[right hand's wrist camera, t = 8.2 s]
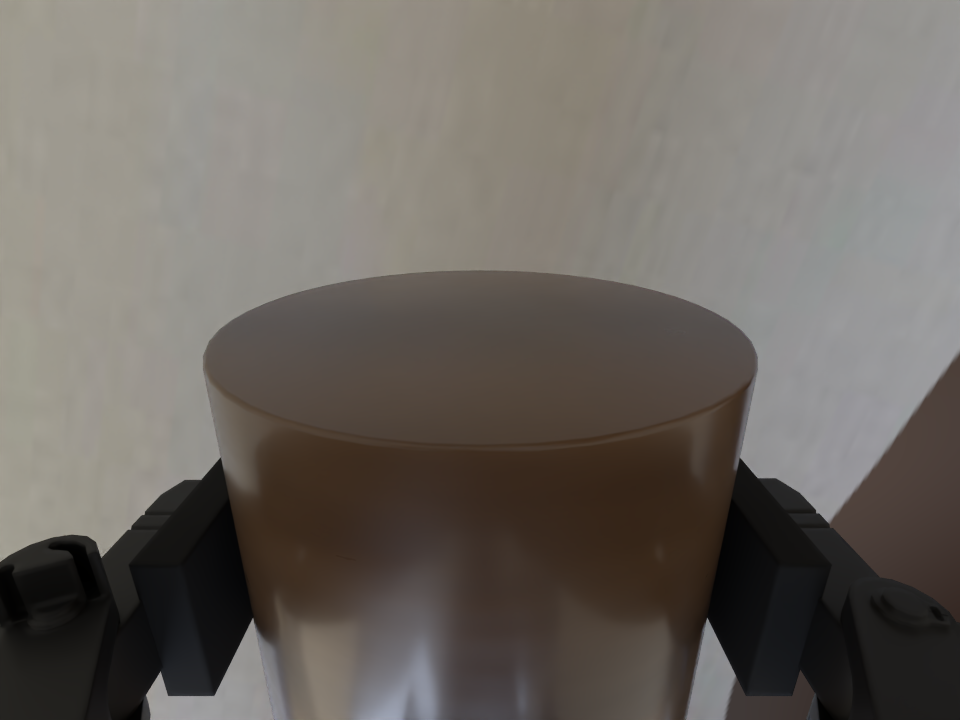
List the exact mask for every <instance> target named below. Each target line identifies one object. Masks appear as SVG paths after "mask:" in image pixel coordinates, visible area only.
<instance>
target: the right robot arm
mask: <svg viewBox="0 0 960 720" xmlns="http://www.w3.org/2000/svg"><path fill="white" fill-rule="evenodd" d="M252 618H253V613H252V609H251V604H250V599H249V594H248V589H247V584H246V579H245V574H244V569H243V564H242V559H241V554H240V549H239V544H238V539H237V534H236V529H235V524H234V519H233V514H232V509H231V504H230V500H229V495H228V490H227V485H226V480H225V475H224V470H223V465H222V460H221V458H220V459H219V460H218V461H217V462H216V464H215V465H214V466H213V467H212V468H211V469H210V471H209V472H208V473H207V474H206V475H205V476H204V478H203V479H202V480H184V481H183V482H181V483H179V484H178V485H176V486H174V487H173V488H171V489H170V490H168V491H166V492H165V493H163V494H162V495H160V497H159V498H158V499H157V500H156V501H155V502H154V503H153V504H152V505H151V506H150V507H149V508H148V509H147V510H146V511H145V515H142V516H141V517H140V518H139V519H138V520H137V521H136V522H135V523H134V524H133V525H132V528H131V530H127V532H126V533H125V534H124V535H123V536H122V537H121V538H120V539H119V540H118V541H117V542H116V543H115V544H114V545H113V546H112V547H111V548H110V550H109V551H108V552H107V553H106V554H105V555H104V556H103V557H102V558H101V556H100V553H99V550H98V547H97V544H96V542H95V541H93V540H92V539H90V538H89V537H87V536H79V535H67V536H60V537H53V538H50V539H47V540H44V541H41V542H38V543H35V544H31V545H29V546H27V547H25V548H23V549H21V550H19V551H17V552H15V553H13V554H11V555H9V556H8V557H7V558H5V559H4V560H2V561H1V562H0V720H150V709H149V704H148V700H147V697H146V694H147V692H148V691H149V689H150V687H151V686H152V684H153V683H154V681H155V679H156V678H157V676H158V675H159V673H160V671H161V674H162V677H163V680H164V683H165V687H166V690H167V693H168V696H214V695H215V693H216V691H217V689H218V687H219V685H220V683H221V681H222V679H223V677H224V675H225V673H226V671H227V669H228V667H229V665H230V663H231V661H232V659H233V657H234V655H235V653H236V651H237V649H238V647H239V645H240V643H241V641H242V639H243V637H244V635H245V633H246V631H247V629H248V626H249V624H250V622H251V620H252ZM707 618H708V620H709V622H710V624H711V626H712V628H713V630H714V632H715V634H716V636H717V638H718V640H719V642H720V644H721V646H722V648H723V650H724V652H725V654H726V656H727V658H728V660H729V662H730V664H731V666H732V668H733V670H734V672H735V674H736V676H737V679H738V681H739V683H740V685H741V687H742V689H743V691H744V693H745V695H746V696H792V695H793V691H794V688H795V685H796V681H797V678H798V675H799V672H800V670H801V671H802V673H803V674H804V676H805V678H806V679H807V681H808V682H809V684H810V686H811V687H812V689H813V690H814V692H815V694H814V697H813V700H812V703H811V707H810V710H809V713H808V716H807V719H806V720H960V623H958V622H956V621H955V619H954V618H953V617H952V615H951V614H950V612H949V611H947V610H946V609H945V608H944V607H943V606H941V605H940V604H939V603H938V602H937V601H935V600H934V599H933V598H931V597H930V596H928V595H926V594H924V593H922V592H921V591H919V590H917V589H915V588H913V587H911V586H909V585H906V584H903V583H900V582H898V581H895V580H892V579H886V578H880V577H879V576H878V575H877V574H876V573H875V572H874V571H873V570H872V569H871V568H870V567H869V566H868V565H867V563H866V562H865V561H864V560H863V559H862V558H861V557H860V556H859V555H858V554H857V553H856V552H855V551H854V550H853V549H852V548H851V547H850V546H849V544H848V543H847V542H846V541H845V540H844V539H843V538H842V537H841V536H840V535H839V534H838V533H837V532H836V531H835V530H834V529H833V528H830V526H829V523H828V522H827V521H826V520H825V519H824V518H823V517H822V516H821V515H820V514H817V513H816V510H815V509H814V508H813V507H812V505H811V504H810V503H809V502H808V501H807V500H806V499H805V498H804V497H803V496H802V495H801V494H800V493H799V492H797V491H796V490H794V489H792V488H791V487H789V486H787V485H786V484H784V483H783V482H781V481H779V480H778V479H776V478H757V477H756V476H755V475H754V474H753V472H752V471H751V470H750V469H749V468H748V467H747V465H746V464H745V463H744V462H743V461H742V460H741V458H739V463H738V468H737V473H736V478H735V483H734V488H733V493H732V498H731V502H730V507H729V512H728V517H727V522H726V527H725V532H724V537H723V542H722V547H721V551H720V556H719V561H718V566H717V571H716V576H715V581H714V586H713V591H712V595H711V600H710V605H709V610H708V615H707Z"/></svg>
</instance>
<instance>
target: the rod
mask: <svg viewBox="0 0 960 720" xmlns="http://www.w3.org/2000/svg"><path fill="white" fill-rule="evenodd" d="M757 370H758V357H757V353H756V351H755V349H754V346H753V344H752V342H751V341H750V339H749V338H748V337H747V336H746V335H745V334H744V333H743V331H742V330H740V329H739V328H738V327H736V326H735V325H734V324H732V323H731V322H730V321H728V320H727V319H725V318H723V317H721V316H720V315H718V314H716V313H714V312H712V311H710V310H708V309H706V308H703V307H701V306H699V305H697V304H694V303H691V302H689V301H686V300H683V299H680V298H677V297H675V296H671V295H668V294H664V293H661V292H657V291H654V290H650V289H645V288H641V287H637V286H633V285H628V284H623V283H617V282H612V281H606V280H600V279H593V278H586V277H578V276H570V275H560V274H549V273H535V272H517V271H442V272H424V273H410V274H399V275H389V276H381V277H373V278H366V279H360V280H353V281H347V282H342V283H337V284H332V285H326V286H322V287H318V288H314V289H310V290H305V291H302V292H299V293H295V294H292V295H288V296H285V297H282V298H279V299H277V300H274V301H271V302H268V303H266V304H263V305H261V306H259V307H256V308H254V309H252V310H250V311H247V312H246V313H244V314H242V315H240V316H239V317H237V318H235V319H233V320H232V321H230V322H229V323H228V324H226V325H225V326H224V327H222V328H221V329H220V330H219V331H218V332H217V333H216V334H215V335H214V336H213V338H212V339H211V340H210V341H209V343H208V345H207V348H206V350H205V352H204V355H203V371H204V376H205V381H206V386H207V391H208V396H209V400H210V405H211V410H212V415H213V420H214V425H215V430H216V435H217V440H218V445H219V450H220V455H221V460H222V465H223V470H224V475H225V480H226V485H227V490H228V495H229V500H230V504H231V509H232V514H233V519H234V524H235V529H236V534H237V539H238V544H239V549H240V554H241V559H242V564H243V569H244V574H245V579H246V584H247V589H248V594H249V599H250V604H251V609H252V613H253V618H254V623H255V628H256V633H257V638H258V643H259V648H260V653H261V658H262V663H263V668H264V673H265V678H266V683H267V688H268V693H269V698H270V703H271V708H272V713H273V717H274V720H686V718H687V713H688V708H689V703H690V698H691V693H692V688H693V683H694V679H695V674H696V669H697V664H698V659H699V654H700V649H701V644H702V639H703V635H704V630H705V625H706V620H707V615H708V610H709V605H710V600H711V595H712V591H713V586H714V581H715V576H716V571H717V566H718V561H719V556H720V551H721V547H722V542H723V537H724V532H725V527H726V522H727V517H728V512H729V507H730V502H731V498H732V493H733V488H734V483H735V478H736V473H737V468H738V463H739V458H740V454H741V449H742V444H743V439H744V434H745V429H746V424H747V419H748V414H749V410H750V405H751V400H752V395H753V390H754V385H755V380H756V375H757Z"/></svg>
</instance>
